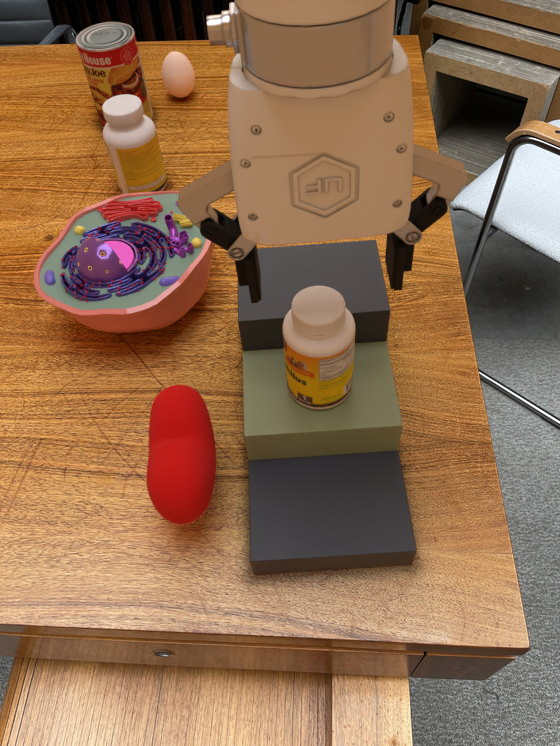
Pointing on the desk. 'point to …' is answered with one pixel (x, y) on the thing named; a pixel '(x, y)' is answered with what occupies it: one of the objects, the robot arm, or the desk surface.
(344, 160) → the robot arm
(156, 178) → the pill bottle
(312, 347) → the supplement bottle
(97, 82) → the canned food
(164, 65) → the egg
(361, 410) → the tiered shelf
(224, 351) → the desk surface
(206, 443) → the red kidney model
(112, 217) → the cell model
